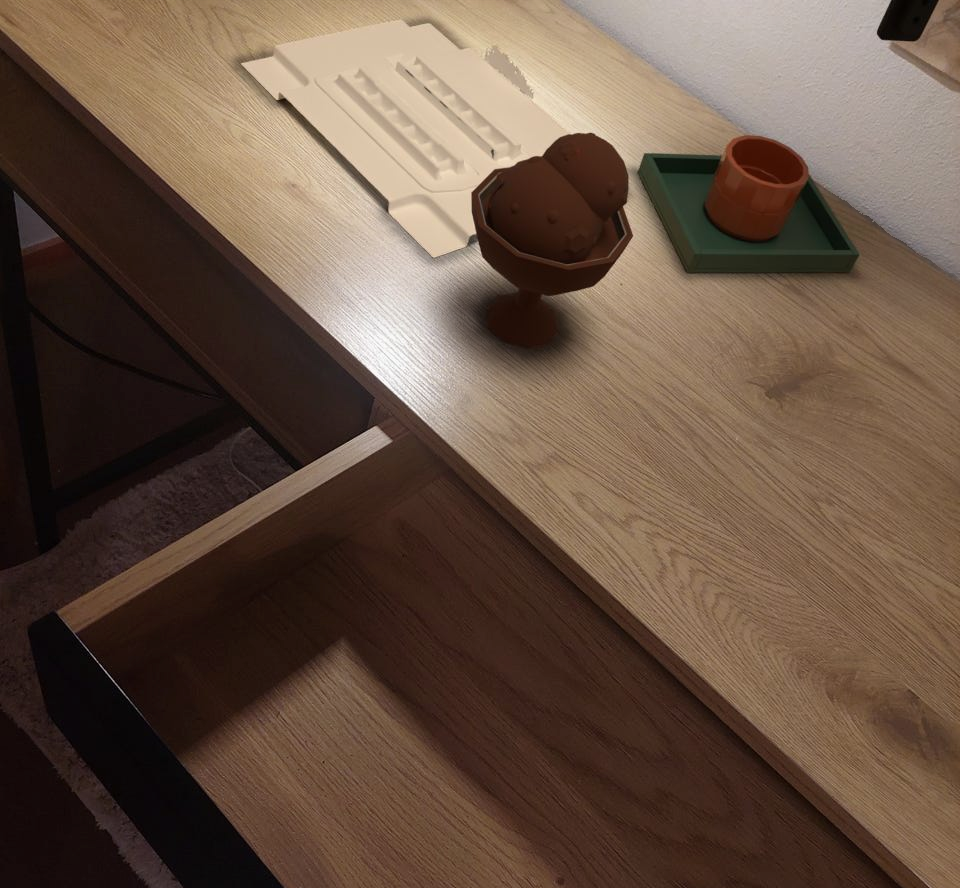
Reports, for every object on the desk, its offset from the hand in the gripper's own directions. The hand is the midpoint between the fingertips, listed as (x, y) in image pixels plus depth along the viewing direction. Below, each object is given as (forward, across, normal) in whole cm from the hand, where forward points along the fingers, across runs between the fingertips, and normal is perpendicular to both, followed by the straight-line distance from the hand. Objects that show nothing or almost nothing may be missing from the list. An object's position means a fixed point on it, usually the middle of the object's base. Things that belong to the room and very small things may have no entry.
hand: (866, 1), depth 76 cm
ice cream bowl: (+19, -11, +25) cm, 33 cm away
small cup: (+19, +1, +2) cm, 19 cm away
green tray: (+20, +1, +2) cm, 20 cm away
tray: (+19, +13, +27) cm, 35 cm away
